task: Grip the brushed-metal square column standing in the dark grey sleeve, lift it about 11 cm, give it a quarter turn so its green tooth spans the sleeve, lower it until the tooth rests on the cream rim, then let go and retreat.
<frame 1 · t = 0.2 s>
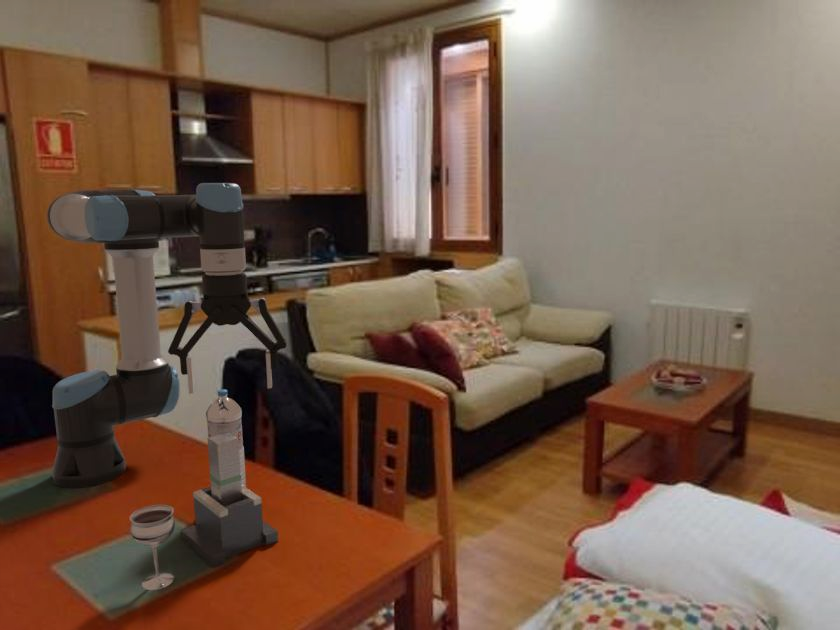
hand: (231, 389, 118), 28 cm above the table, fingers open, 13 cm apart
wineglass: (158, 582, 108), on the table
column: (226, 489, 119), in the sleeve
sleeve: (229, 540, 120), on the table
water bottle: (230, 508, 133), on the table
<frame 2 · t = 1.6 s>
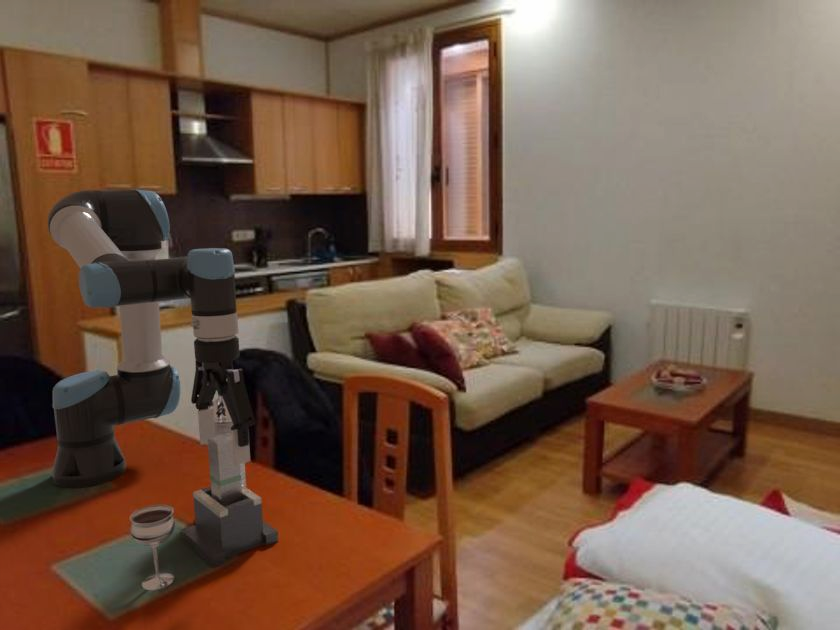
hand: (224, 452, 117), 17 cm above the table, fingers open, 13 cm apart
nothing on the table moved.
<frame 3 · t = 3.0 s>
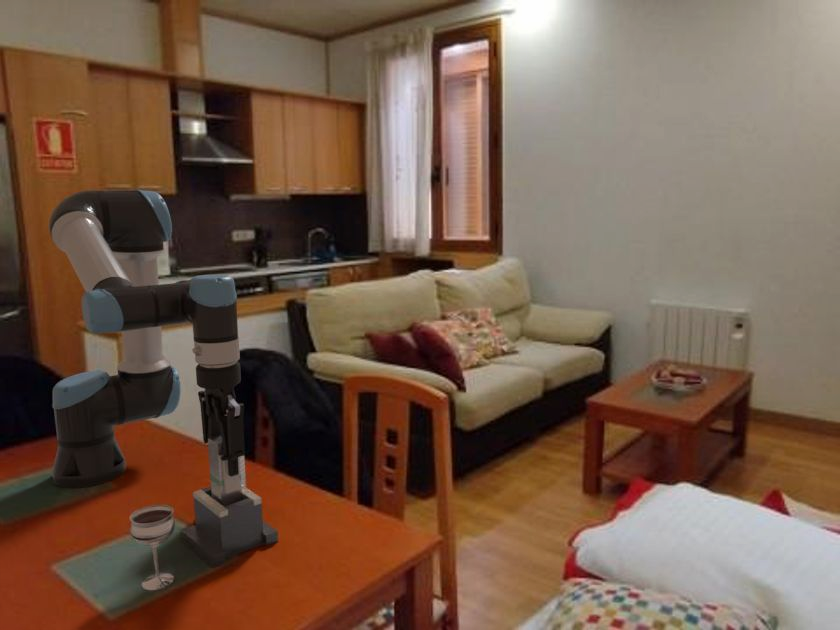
hand: (226, 486, 118), 11 cm above the table, fingers closed on column, 4 cm apart
column: (226, 489, 119), in the sleeve, touching gripper
everything else where it was.
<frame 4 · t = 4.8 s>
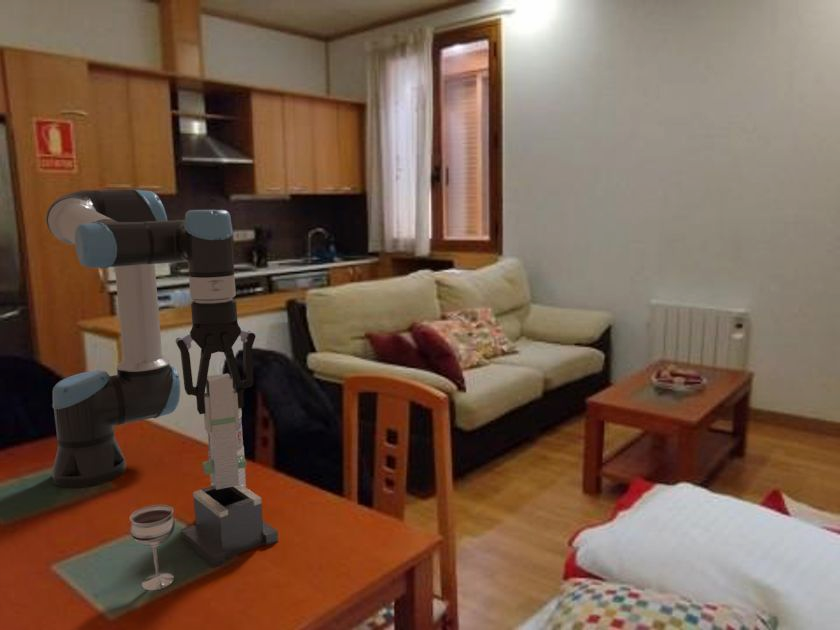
hand: (222, 427, 117), 22 cm above the table, fingers closed on column, 4 cm apart
column: (222, 431, 117), point 21 cm above the table, touching gripper
everything else where it was.
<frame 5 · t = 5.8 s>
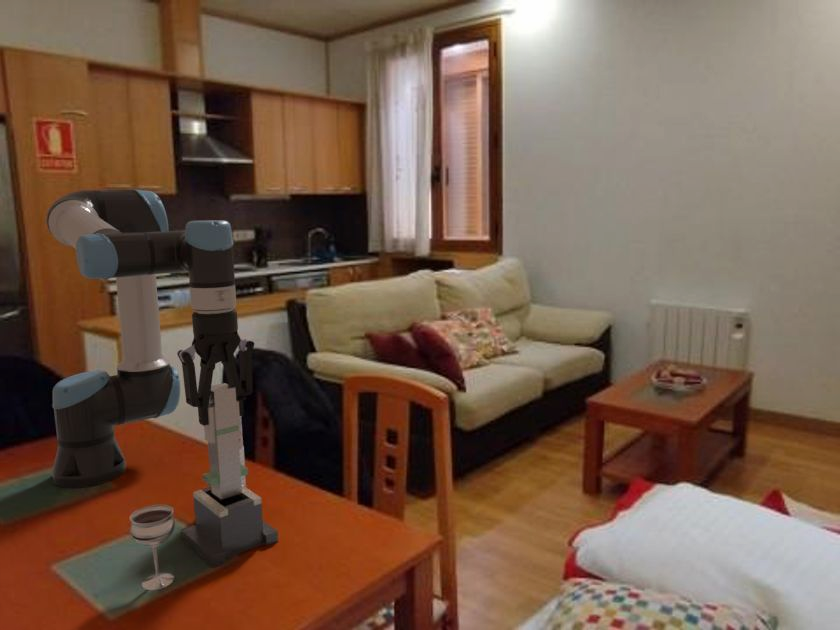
hand: (223, 437, 117), 20 cm above the table, fingers closed on column, 4 cm apart
column: (223, 440, 117), point 20 cm above the table, touching gripper
everything else where it was.
when the fingers open (17 cm above the table, at t = 6.6 s): column stays where it is, resting on sleeve.
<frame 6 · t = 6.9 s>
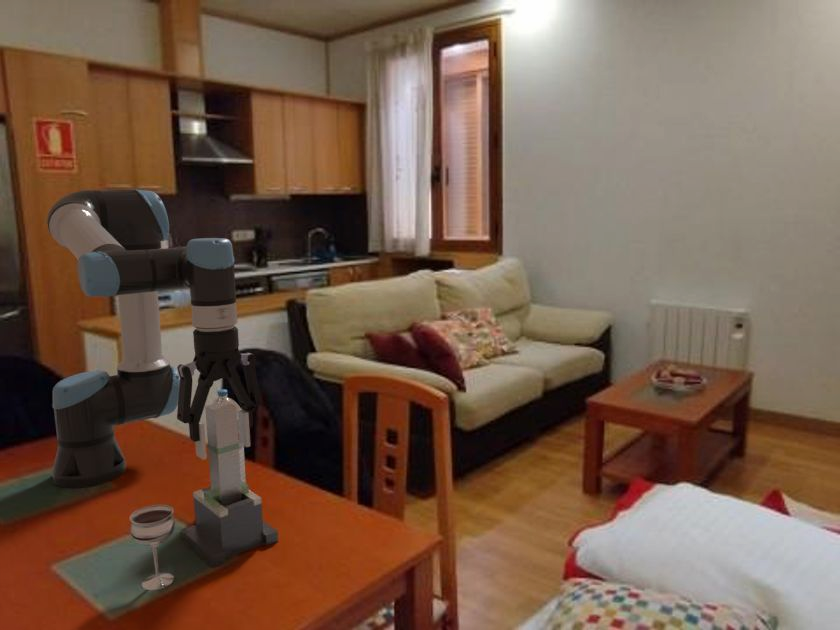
hand: (223, 450, 117), 18 cm above the table, fingers open, 8 cm apart
column: (224, 458, 118), in the sleeve, point 16 cm above the table
everything else where it was.
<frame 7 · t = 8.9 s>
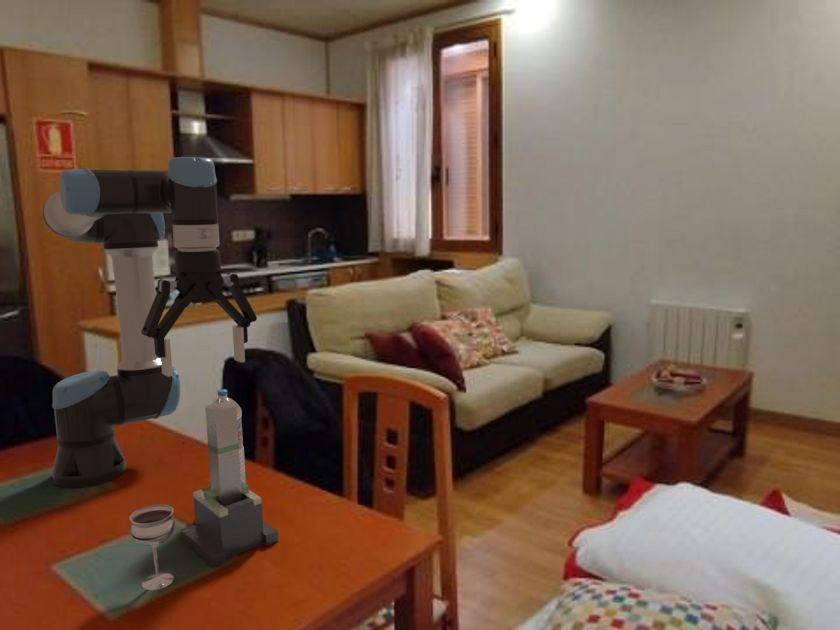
hand: (204, 367, 116), 33 cm above the table, fingers open, 13 cm apart
nothing on the table moved.
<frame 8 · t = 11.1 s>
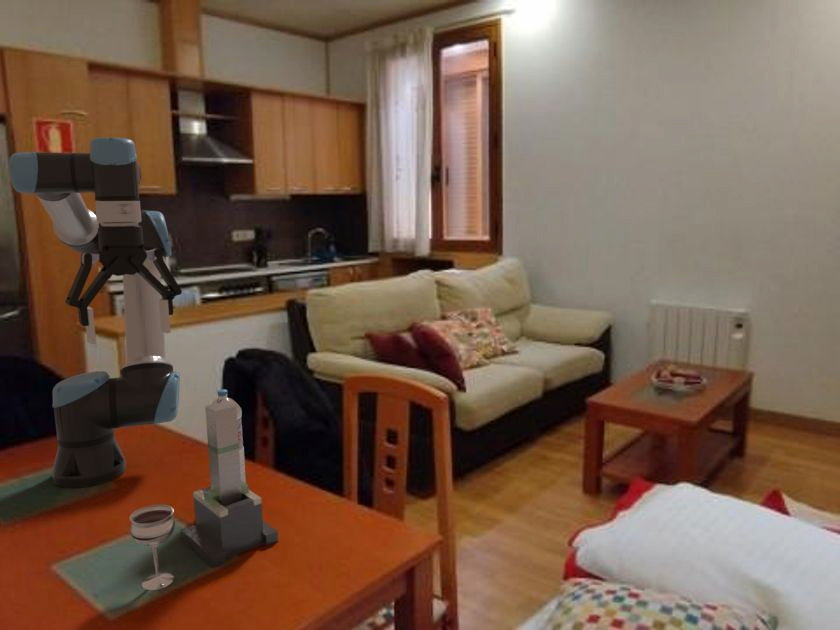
hand: (130, 337, 123), 37 cm above the table, fingers open, 13 cm apart
nothing on the table moved.
at the end: column point 16.0 cm above the table; column 0.0 cm off-centre on the sleeve, point 16.0 cm above the sleeve's base; the gripper is holding nothing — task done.
